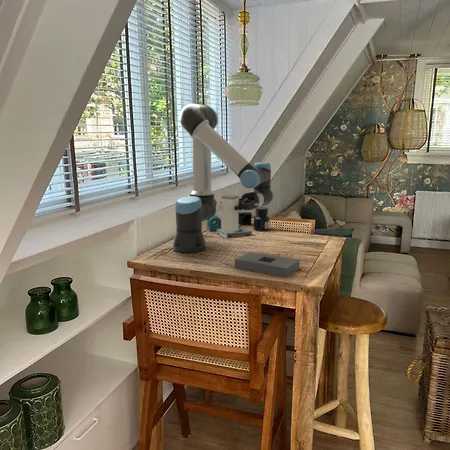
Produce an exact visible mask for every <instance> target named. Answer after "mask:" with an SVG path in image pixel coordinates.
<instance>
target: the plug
mask: <svg viewBox="0 0 450 450" xmlns="http://www.w3.org/2000/svg"><path fill="white" fill-rule="evenodd" d="M220 197H221V200H220V202H221V211H220V212H221V214H220V217H221V218H220V219H221V231H228V232H234V231H236V230H238V216H239V212H240V210H238V211H235V212H232V213H228V206H230V205H234V204H239V198H240V195H237V194H224V195H221V196H220Z"/></svg>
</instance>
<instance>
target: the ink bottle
mask: <svg viewBox="0 0 450 450" xmlns="http://www.w3.org/2000/svg"><path fill="white" fill-rule="evenodd" d="M254 211H255V216H254V217H253V221H252V222H253V223H252V224H253V227H252V229H253V230H254V231H259V232H262V231H263V232H265V231H266V232H267V231H269V230H270V227H271V226H270V224H271V223H270V221H271V219H270V217H269V208H268V207H266V206H261V207H258V208H256V209H254Z"/></svg>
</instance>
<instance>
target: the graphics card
mask: <svg viewBox="0 0 450 450" xmlns="http://www.w3.org/2000/svg"><path fill="white" fill-rule="evenodd" d="M251 234H253V230H250V229H249V228H247V227H240V228H238V230H236V231H234V232H228V231H221V229H217V231H216V235H219V237H222V239H225V240H228V238H229V239H231V238H235V237H245V236H246V235H251Z"/></svg>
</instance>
